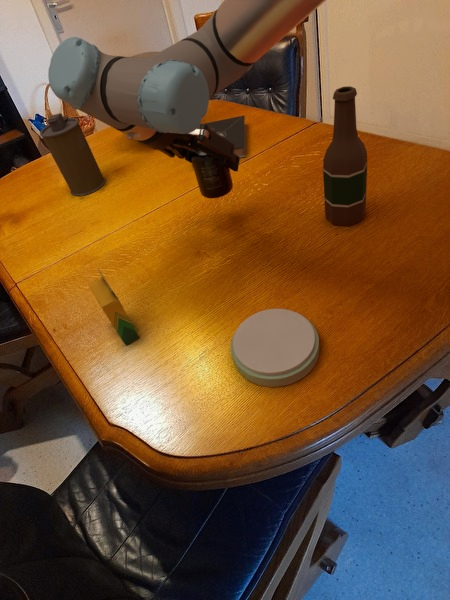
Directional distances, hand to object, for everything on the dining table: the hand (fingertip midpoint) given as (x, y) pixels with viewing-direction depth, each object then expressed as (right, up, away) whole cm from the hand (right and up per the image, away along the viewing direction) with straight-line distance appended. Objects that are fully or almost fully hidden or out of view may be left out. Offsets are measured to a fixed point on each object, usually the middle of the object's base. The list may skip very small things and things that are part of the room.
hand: (220, 163), depth 82 cm
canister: (-38, +5, +35) cm, 52 cm away
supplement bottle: (-1, -5, +1) cm, 6 cm away
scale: (+8, -35, -21) cm, 42 cm away
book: (0, +17, +36) cm, 40 cm away
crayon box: (-17, -33, -11) cm, 38 cm away
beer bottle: (+25, -11, -1) cm, 27 cm away
